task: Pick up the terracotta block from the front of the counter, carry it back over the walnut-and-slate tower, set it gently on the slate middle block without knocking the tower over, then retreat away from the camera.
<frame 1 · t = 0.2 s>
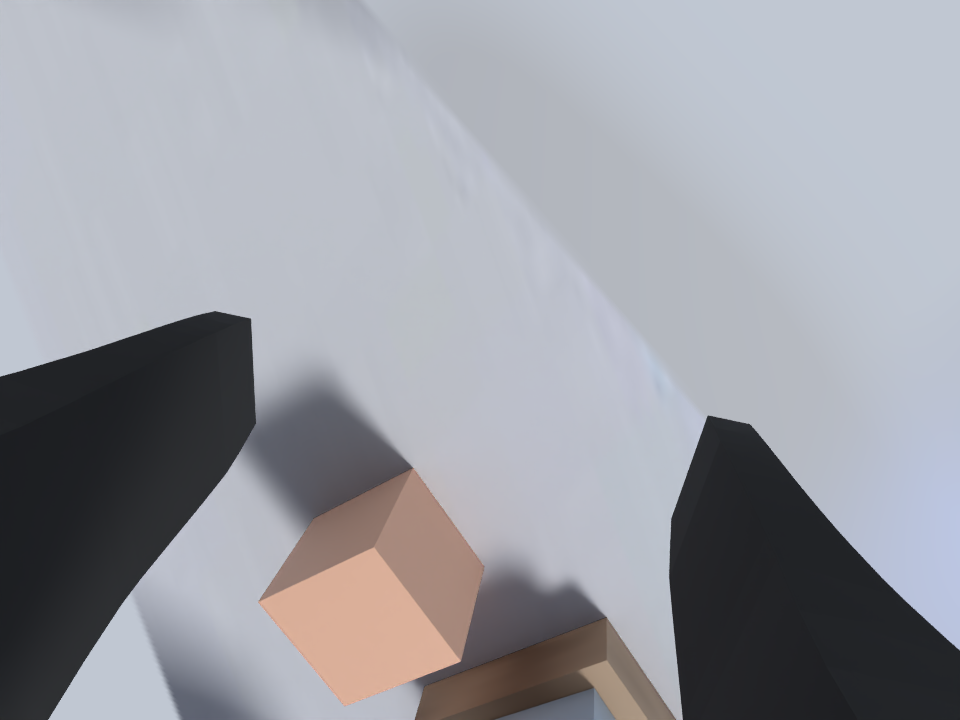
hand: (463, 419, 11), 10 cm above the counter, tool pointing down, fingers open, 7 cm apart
walnut base block: (566, 717, 27), on the counter, touching slate middle block
terracotta block: (398, 541, 25), on the counter
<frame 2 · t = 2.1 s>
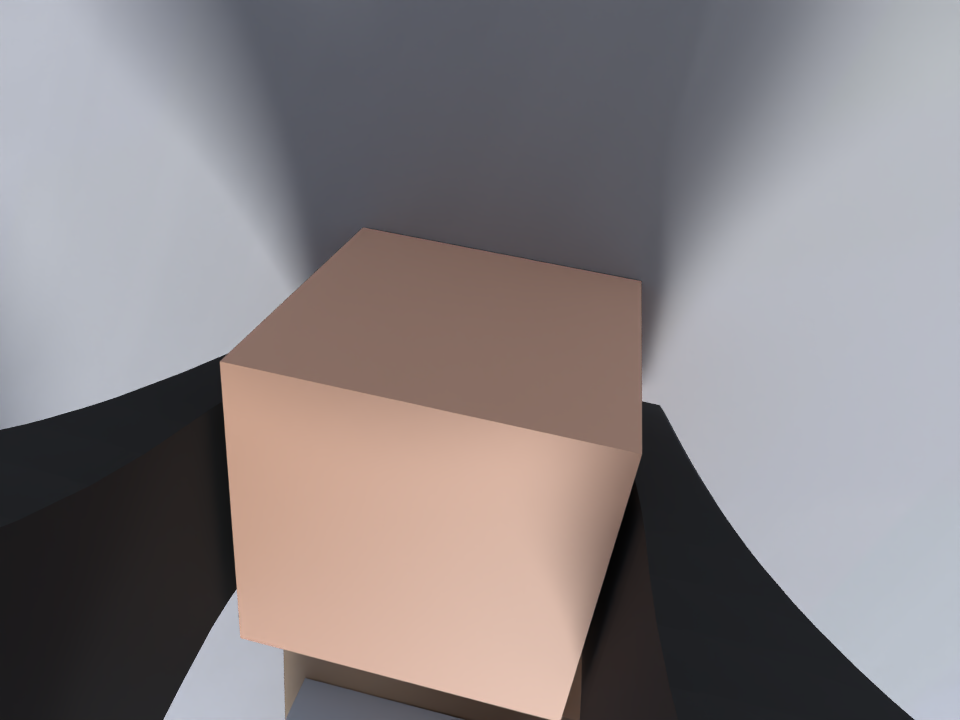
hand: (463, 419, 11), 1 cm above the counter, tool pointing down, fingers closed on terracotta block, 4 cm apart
walnut base block: (478, 705, 18), on the counter
terracotta block: (481, 373, 12), on the counter, touching gripper
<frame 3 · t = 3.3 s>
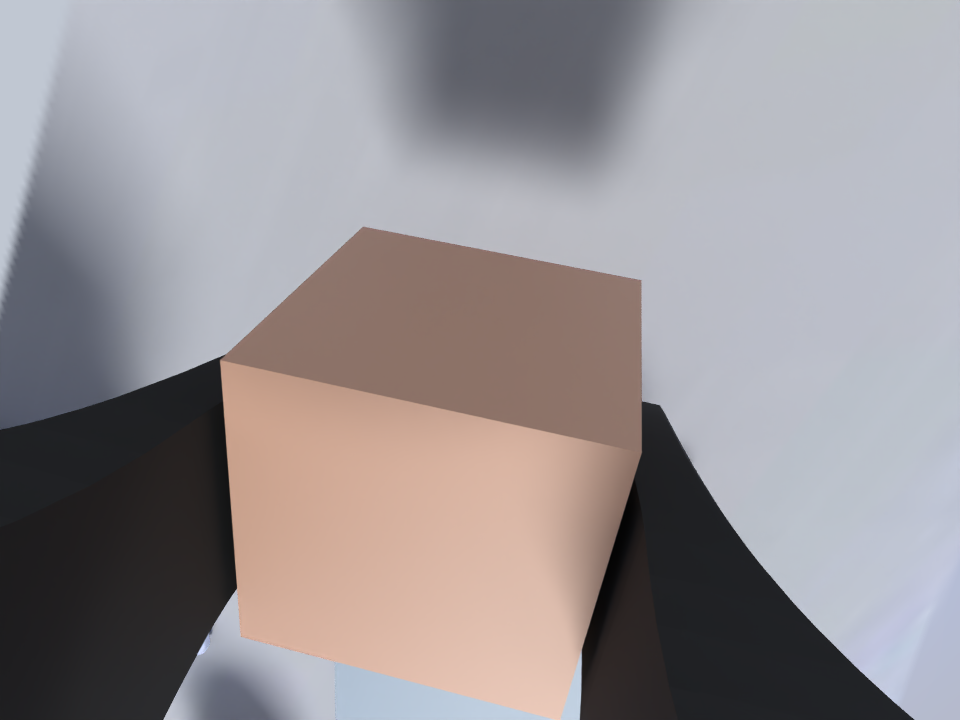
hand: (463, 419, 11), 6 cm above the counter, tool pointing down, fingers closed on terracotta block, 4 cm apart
terracotta block: (481, 373, 12), point 5 cm above the counter, touching gripper
slate middle block: (478, 625, 20), point 2 cm above the counter, touching walnut base block
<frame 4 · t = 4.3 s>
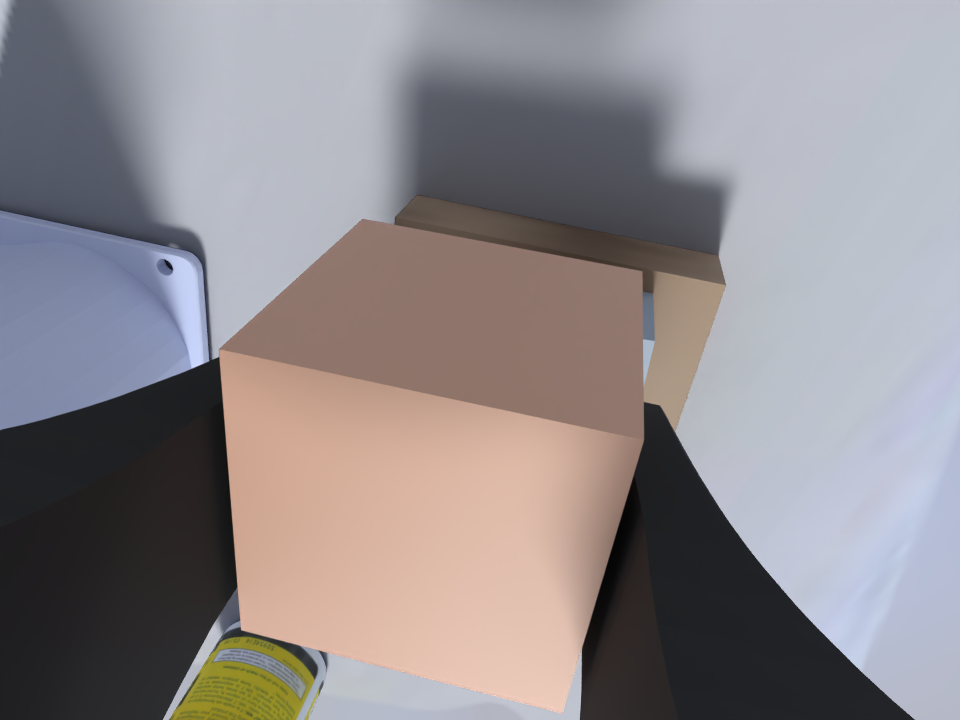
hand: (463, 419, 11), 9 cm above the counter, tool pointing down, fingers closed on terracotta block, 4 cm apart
walnut base block: (539, 346, 21), on the counter
terracotta block: (482, 366, 12), point 7 cm above the counter, touching gripper
supplement bottle: (278, 650, 30), on the counter
slate middle block: (505, 384, 19), point 2 cm above the counter
when the fingers open (7 cm above the counter, at t = 5.4 s): terracotta block drops 2 cm, resting on slate middle block.
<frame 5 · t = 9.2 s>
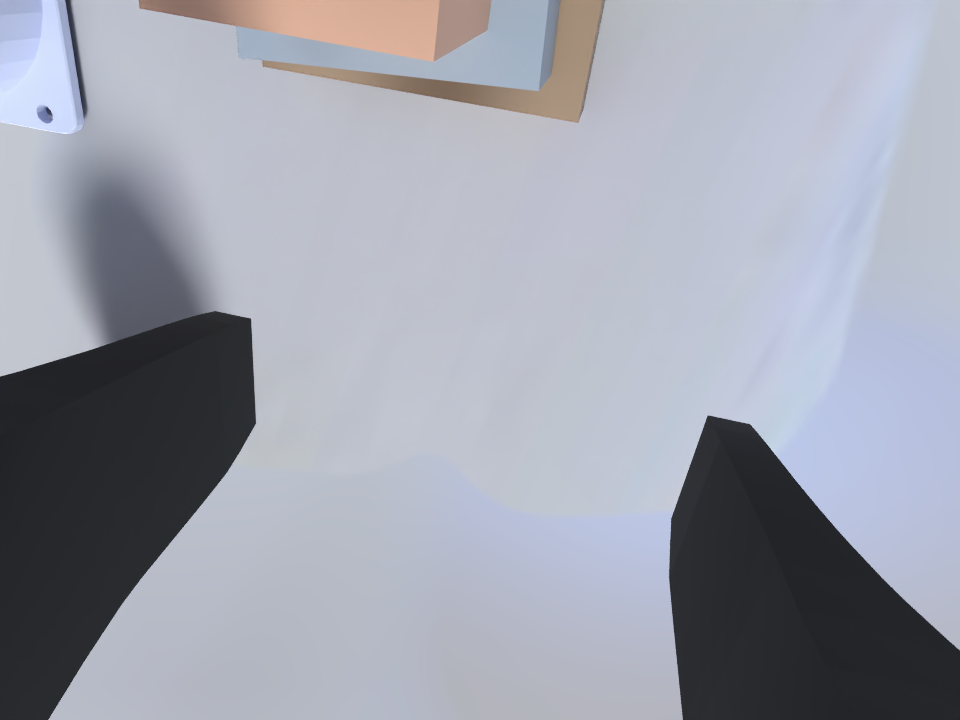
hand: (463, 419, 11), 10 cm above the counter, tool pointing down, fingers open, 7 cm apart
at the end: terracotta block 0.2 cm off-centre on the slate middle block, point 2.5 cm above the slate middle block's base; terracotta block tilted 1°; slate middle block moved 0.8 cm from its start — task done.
